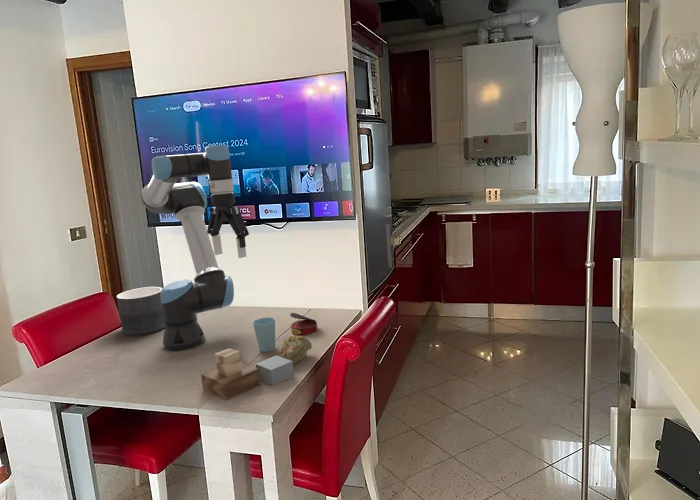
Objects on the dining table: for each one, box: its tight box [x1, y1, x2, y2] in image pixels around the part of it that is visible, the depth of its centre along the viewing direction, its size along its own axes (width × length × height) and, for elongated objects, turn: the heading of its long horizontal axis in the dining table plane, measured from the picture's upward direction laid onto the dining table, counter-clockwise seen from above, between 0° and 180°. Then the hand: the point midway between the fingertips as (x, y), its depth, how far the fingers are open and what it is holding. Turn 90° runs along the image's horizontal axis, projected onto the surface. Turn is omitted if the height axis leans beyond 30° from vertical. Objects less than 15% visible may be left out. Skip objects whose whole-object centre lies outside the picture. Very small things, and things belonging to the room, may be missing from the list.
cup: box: [252, 317, 276, 353], centre depth 187 cm, size 8×8×10 cm
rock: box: [278, 335, 313, 366], centre depth 176 cm, size 12×9×10 cm
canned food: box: [289, 312, 318, 337], centre depth 203 cm, size 11×10×10 cm
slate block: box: [255, 355, 295, 386], centre depth 163 cm, size 8×8×5 cm
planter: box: [116, 286, 165, 337], centre depth 221 cm, size 18×18×16 cm
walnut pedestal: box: [200, 362, 261, 401], centre depth 159 cm, size 12×12×5 cm
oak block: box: [214, 348, 242, 377], centre depth 157 cm, size 5×5×6 cm
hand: (230, 255), depth 180 cm, fingers open, 13 cm apart
